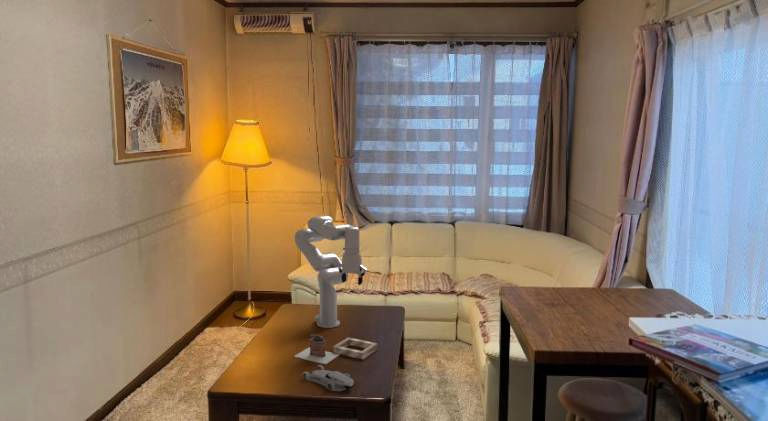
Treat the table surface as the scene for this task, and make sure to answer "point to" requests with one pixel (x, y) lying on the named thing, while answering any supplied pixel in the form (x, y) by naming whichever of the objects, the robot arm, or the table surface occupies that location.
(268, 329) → the table surface
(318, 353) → the lighter
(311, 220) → the robot arm
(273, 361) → the table surface
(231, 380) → the table surface
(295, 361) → the table surface
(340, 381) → the car model
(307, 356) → the mat
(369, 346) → the slot holder
